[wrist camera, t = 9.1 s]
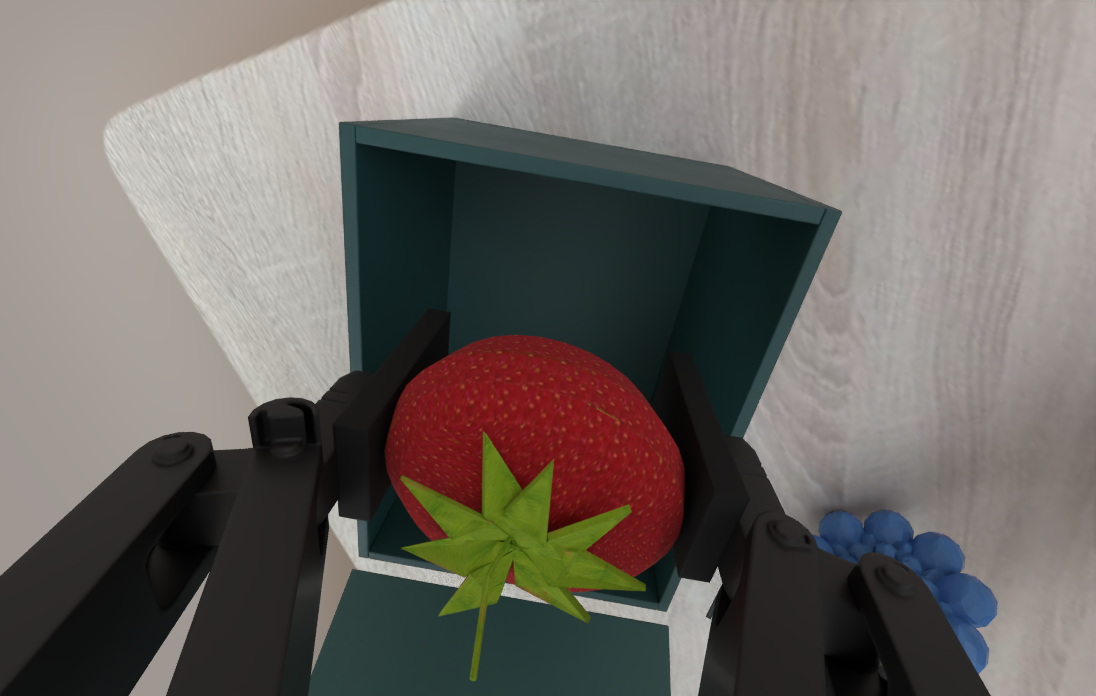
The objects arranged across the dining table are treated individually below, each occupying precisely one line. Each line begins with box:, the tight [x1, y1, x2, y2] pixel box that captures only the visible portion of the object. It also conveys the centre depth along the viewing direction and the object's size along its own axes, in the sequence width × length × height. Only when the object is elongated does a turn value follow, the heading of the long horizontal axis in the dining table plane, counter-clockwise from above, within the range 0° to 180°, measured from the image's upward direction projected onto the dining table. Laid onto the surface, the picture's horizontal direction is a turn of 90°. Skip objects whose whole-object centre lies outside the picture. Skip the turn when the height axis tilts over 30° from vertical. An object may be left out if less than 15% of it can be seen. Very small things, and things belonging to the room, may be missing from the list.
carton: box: [339, 118, 842, 612], centre depth 24 cm, size 19×15×12 cm
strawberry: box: [385, 335, 685, 681], centre depth 12 cm, size 6×8×10 cm
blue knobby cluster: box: [812, 510, 997, 674], centre depth 30 cm, size 12×7×12 cm, turn 103°
